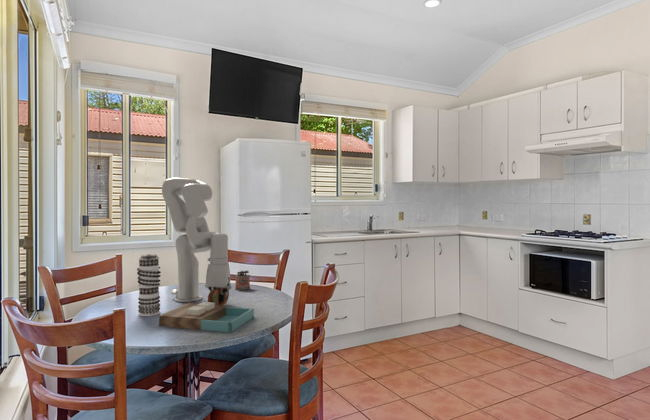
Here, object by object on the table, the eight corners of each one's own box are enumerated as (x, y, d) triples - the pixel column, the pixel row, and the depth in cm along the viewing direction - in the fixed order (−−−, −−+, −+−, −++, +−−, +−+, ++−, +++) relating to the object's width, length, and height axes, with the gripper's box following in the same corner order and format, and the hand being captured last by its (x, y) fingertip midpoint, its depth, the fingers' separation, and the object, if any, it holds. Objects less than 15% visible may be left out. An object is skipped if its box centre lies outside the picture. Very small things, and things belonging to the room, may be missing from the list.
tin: (212, 311, 176) (213, 292, 175) (205, 310, 177) (206, 291, 176) (228, 302, 190) (230, 284, 190) (222, 301, 191) (224, 283, 191)
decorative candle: (137, 311, 176) (137, 253, 175) (160, 309, 179) (160, 252, 179) (136, 317, 167) (136, 256, 167) (161, 315, 171) (161, 255, 170)
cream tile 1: (186, 314, 158) (186, 309, 157) (194, 311, 162) (194, 306, 162) (198, 315, 156) (198, 310, 156) (205, 311, 161) (205, 306, 161)
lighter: (236, 290, 218) (236, 271, 218) (234, 289, 221) (234, 270, 221) (250, 289, 222) (250, 270, 222) (248, 287, 225) (248, 269, 225)
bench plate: (158, 325, 156) (158, 315, 156) (188, 312, 175) (188, 302, 175) (201, 329, 152) (201, 319, 152) (226, 315, 171) (226, 305, 171)
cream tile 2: (196, 309, 164) (196, 304, 164) (203, 306, 169) (203, 301, 169) (208, 310, 163) (208, 305, 163) (214, 307, 168) (214, 302, 168)
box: (201, 329, 152) (201, 320, 152) (226, 315, 171) (226, 306, 171) (230, 332, 149) (230, 322, 149) (253, 317, 168) (253, 308, 168)
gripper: (198, 261, 181) (197, 302, 182) (231, 263, 177) (230, 306, 178) (206, 258, 188) (206, 298, 189) (239, 261, 184) (238, 301, 185)
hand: (218, 301), depth 183 cm, fingers closed on tin, 2 cm apart
